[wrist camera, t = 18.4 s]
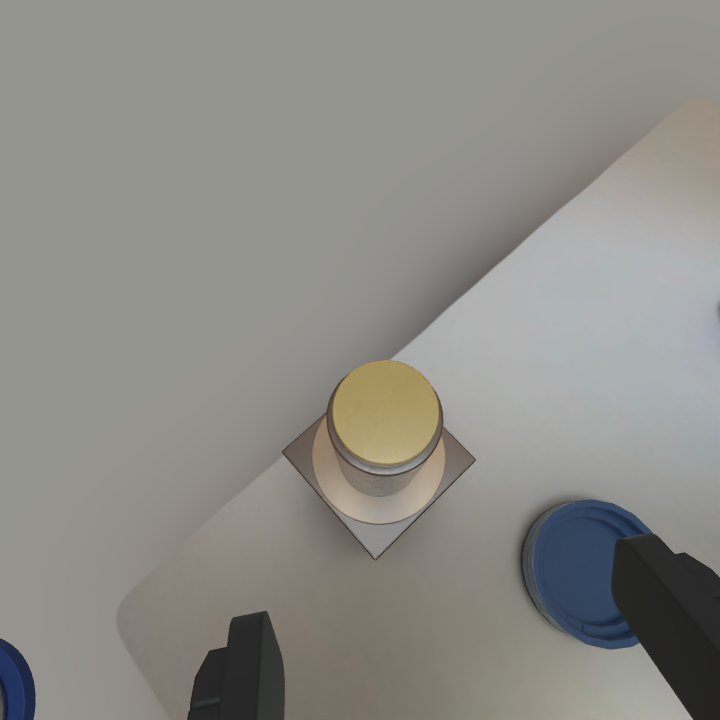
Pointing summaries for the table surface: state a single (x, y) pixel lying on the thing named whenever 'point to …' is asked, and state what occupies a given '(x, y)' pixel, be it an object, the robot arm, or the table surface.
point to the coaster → (370, 506)
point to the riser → (371, 535)
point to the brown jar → (383, 426)
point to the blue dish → (580, 570)
